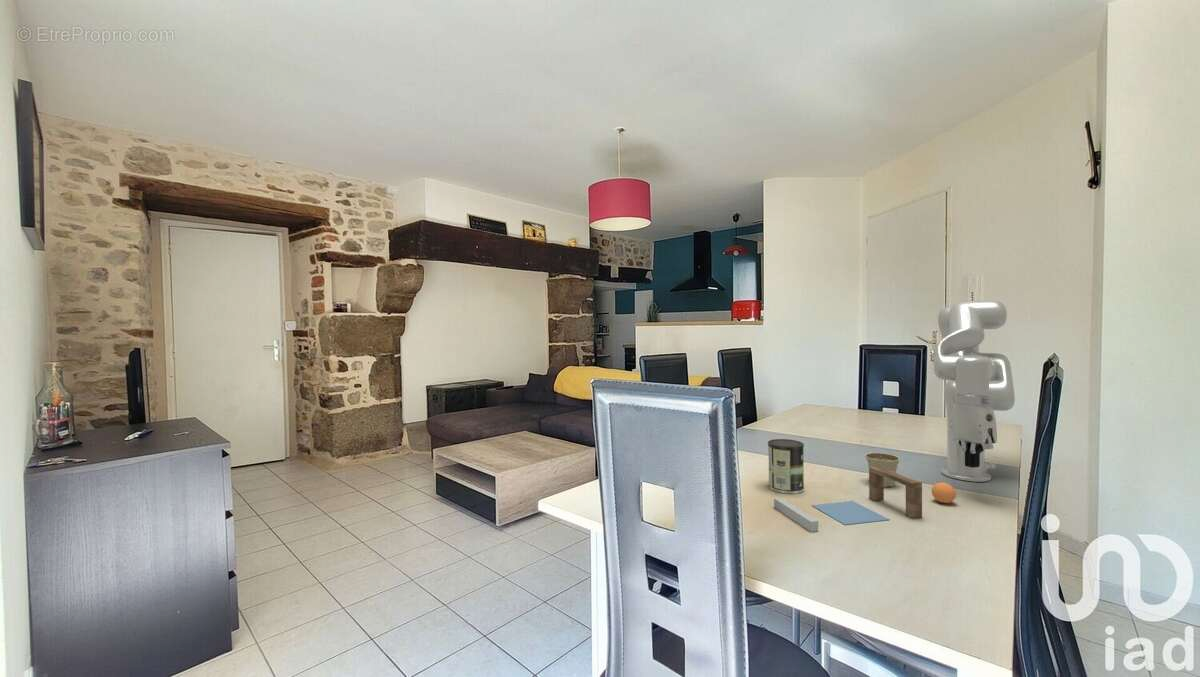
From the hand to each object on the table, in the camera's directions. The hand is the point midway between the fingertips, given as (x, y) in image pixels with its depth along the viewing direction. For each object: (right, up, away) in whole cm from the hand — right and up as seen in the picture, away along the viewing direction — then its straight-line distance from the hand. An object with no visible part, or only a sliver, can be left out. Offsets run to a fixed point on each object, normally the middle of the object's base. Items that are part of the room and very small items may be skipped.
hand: (972, 466), depth 131 cm
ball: (-9, -7, -1) cm, 11 cm away
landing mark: (-38, -11, -7) cm, 40 cm away
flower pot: (-16, -10, +15) cm, 24 cm away
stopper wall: (-54, -11, -10) cm, 56 cm away
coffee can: (-47, -10, +13) cm, 50 cm away
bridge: (-24, -10, -4) cm, 27 cm away
